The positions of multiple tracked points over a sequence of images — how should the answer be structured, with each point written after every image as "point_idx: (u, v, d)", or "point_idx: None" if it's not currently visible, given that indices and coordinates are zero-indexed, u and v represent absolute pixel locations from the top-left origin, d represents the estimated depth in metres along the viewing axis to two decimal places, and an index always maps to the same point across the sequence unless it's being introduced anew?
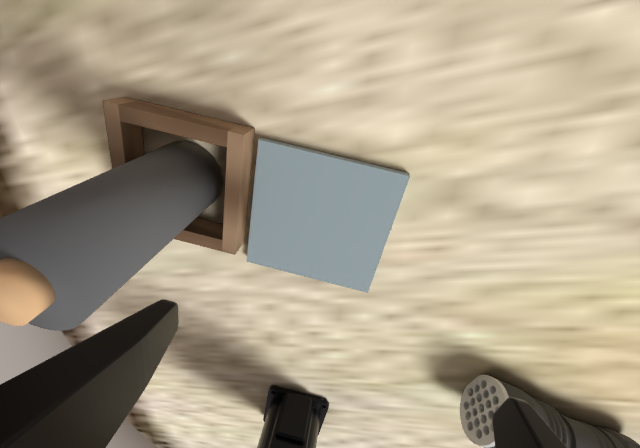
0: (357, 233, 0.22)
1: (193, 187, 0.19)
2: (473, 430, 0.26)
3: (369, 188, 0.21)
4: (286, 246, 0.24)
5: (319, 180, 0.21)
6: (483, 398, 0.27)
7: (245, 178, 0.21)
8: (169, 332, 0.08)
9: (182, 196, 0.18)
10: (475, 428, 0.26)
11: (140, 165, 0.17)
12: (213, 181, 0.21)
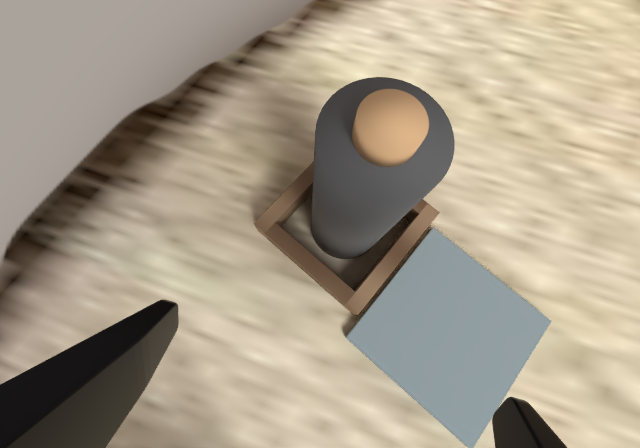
0: (486, 359, 0.21)
1: None
2: None
3: (512, 315, 0.21)
4: (403, 340, 0.21)
5: (470, 286, 0.22)
6: None
7: None
8: (169, 332, 0.08)
9: None
10: None
11: None
12: None
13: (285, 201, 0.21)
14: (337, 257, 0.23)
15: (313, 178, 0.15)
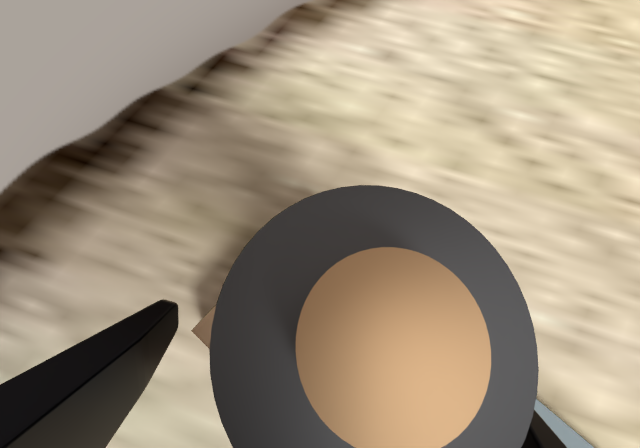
0: None
1: None
2: None
3: None
4: None
5: None
6: None
7: None
8: (169, 332, 0.08)
9: None
10: None
11: None
12: None
13: None
14: None
15: None
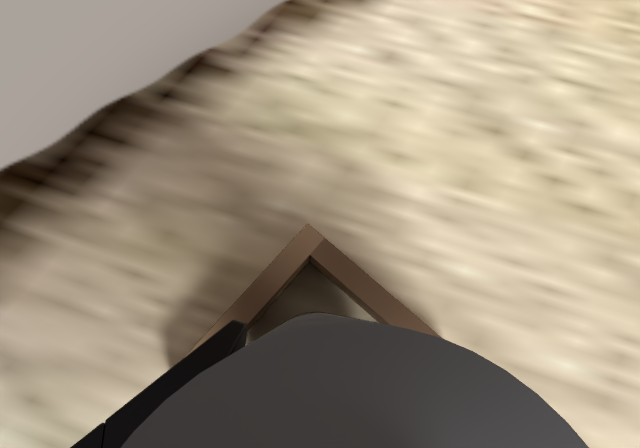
0: None
1: None
2: None
3: None
4: None
5: None
6: None
7: None
8: None
9: None
10: None
11: None
12: None
13: None
14: None
15: None
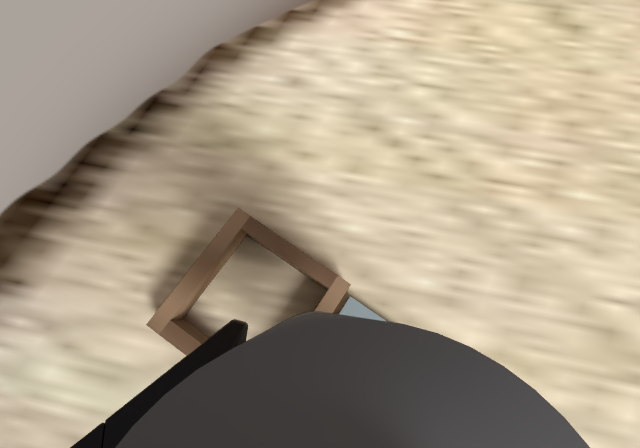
0: None
1: None
2: None
3: None
4: None
5: None
6: None
7: None
8: None
9: None
10: None
11: None
12: None
13: (180, 294, 0.20)
14: None
15: None
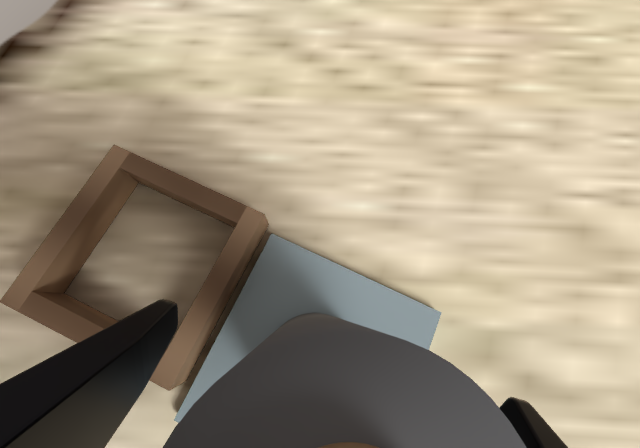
0: None
1: None
2: None
3: (392, 320, 0.16)
4: None
5: (331, 297, 0.17)
6: None
7: (238, 274, 0.16)
8: (168, 332, 0.08)
9: None
10: None
11: None
12: None
13: (44, 257, 0.15)
14: None
15: None
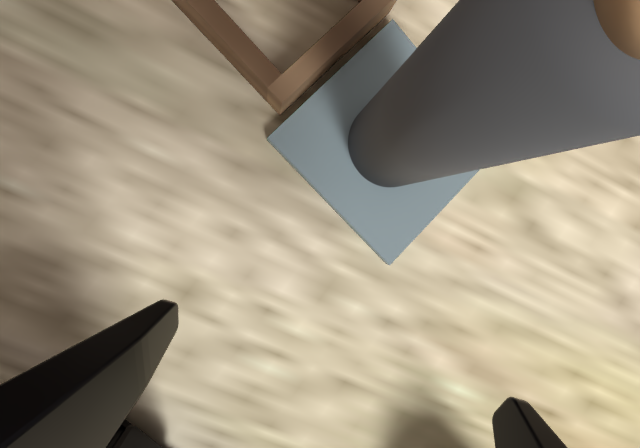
0: None
1: None
2: None
3: None
4: (335, 148, 0.18)
5: None
6: None
7: (355, 39, 0.17)
8: (169, 332, 0.08)
9: None
10: None
11: None
12: None
13: None
14: (367, 179, 0.18)
15: (428, 46, 0.09)
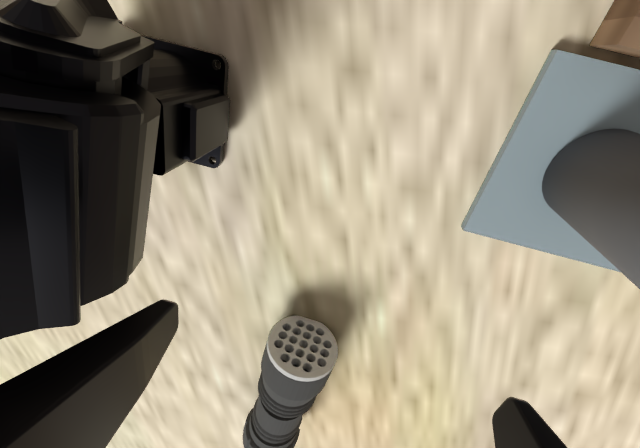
0: (563, 222, 0.18)
1: None
2: (280, 350, 0.23)
3: None
4: (569, 126, 0.16)
5: None
6: (311, 340, 0.24)
7: None
8: (169, 332, 0.08)
9: None
10: (284, 351, 0.23)
11: None
12: None
13: None
14: (545, 174, 0.17)
15: None
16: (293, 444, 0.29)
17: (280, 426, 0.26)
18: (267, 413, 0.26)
